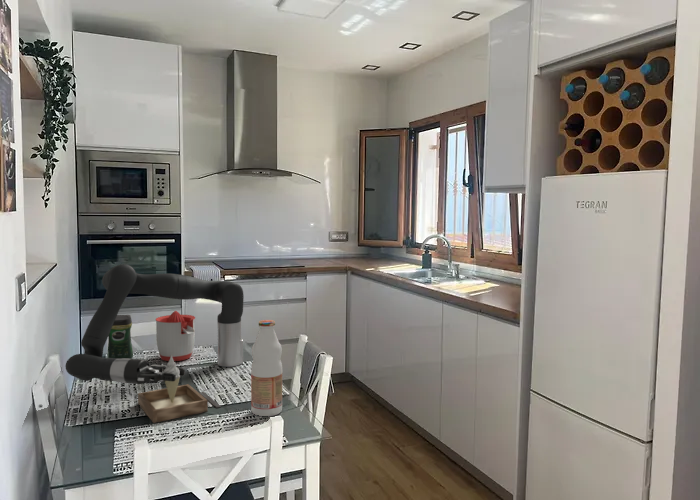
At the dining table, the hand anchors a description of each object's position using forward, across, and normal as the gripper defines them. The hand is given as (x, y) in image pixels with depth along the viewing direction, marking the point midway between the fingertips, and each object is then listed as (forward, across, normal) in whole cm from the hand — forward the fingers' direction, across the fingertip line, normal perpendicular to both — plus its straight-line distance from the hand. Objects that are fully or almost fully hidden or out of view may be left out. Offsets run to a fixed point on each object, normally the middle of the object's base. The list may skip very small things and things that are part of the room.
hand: (179, 374), depth 160 cm
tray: (-1, +2, +11) cm, 11 cm away
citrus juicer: (-28, +51, +11) cm, 59 cm away
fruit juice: (+27, +3, +11) cm, 29 cm away
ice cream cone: (-3, 0, +9) cm, 10 cm away
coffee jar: (-50, +44, +11) cm, 68 cm away
